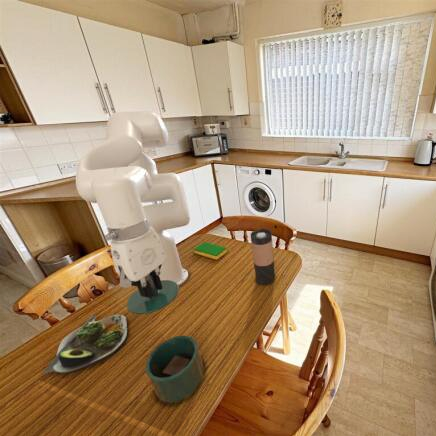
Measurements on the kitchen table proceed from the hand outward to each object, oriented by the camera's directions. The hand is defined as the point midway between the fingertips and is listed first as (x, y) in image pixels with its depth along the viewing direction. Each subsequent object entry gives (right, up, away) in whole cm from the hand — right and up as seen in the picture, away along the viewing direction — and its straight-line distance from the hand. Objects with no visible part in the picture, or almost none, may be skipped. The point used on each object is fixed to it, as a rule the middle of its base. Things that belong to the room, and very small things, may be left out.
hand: (152, 291), depth 61 cm
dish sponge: (-2, +3, +50) cm, 50 cm away
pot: (+8, -21, -2) cm, 23 cm away
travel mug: (+26, -5, +32) cm, 41 cm away
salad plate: (-21, -18, +7) cm, 28 cm away
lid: (0, -1, +1) cm, 2 cm away
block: (+8, -20, -2) cm, 22 cm away
